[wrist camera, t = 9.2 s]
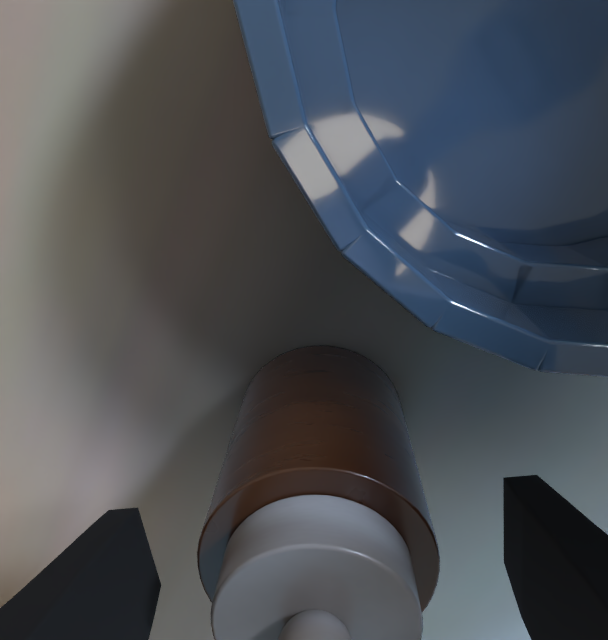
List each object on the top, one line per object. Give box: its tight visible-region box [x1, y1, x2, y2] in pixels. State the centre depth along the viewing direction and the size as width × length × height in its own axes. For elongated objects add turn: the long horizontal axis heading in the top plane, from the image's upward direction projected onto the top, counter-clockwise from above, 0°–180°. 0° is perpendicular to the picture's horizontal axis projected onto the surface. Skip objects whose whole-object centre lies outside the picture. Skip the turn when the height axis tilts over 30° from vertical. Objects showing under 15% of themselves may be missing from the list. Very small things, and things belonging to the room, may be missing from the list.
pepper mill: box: [197, 346, 440, 640], centre depth 11 cm, size 4×4×7 cm
